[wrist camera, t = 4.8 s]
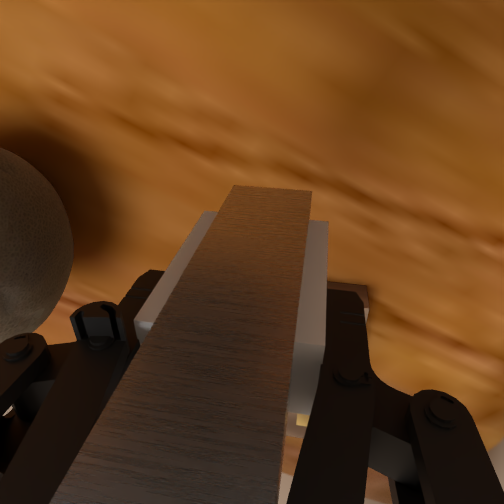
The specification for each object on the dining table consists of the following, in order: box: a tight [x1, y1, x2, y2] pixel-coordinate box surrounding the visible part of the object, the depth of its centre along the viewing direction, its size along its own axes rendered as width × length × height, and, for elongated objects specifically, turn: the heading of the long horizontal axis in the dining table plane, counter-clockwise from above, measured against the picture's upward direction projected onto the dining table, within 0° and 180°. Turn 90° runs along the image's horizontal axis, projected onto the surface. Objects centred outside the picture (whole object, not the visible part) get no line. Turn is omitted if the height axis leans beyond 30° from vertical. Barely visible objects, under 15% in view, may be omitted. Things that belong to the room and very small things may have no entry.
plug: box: [49, 185, 312, 504], centre depth 12 cm, size 3×3×13 cm
